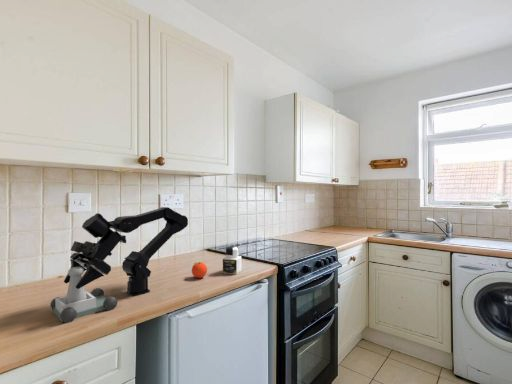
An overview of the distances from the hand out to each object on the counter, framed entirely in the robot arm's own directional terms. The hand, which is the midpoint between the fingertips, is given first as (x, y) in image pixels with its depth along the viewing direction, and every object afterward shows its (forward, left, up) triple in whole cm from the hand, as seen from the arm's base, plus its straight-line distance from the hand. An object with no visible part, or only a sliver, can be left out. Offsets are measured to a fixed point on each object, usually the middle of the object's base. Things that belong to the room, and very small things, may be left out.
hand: (70, 285), depth 92 cm
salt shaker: (-2, 0, -8) cm, 8 cm away
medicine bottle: (-66, +4, -9) cm, 67 cm away
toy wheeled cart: (-4, 0, -9) cm, 10 cm away
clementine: (-50, -1, -9) cm, 51 cm away
